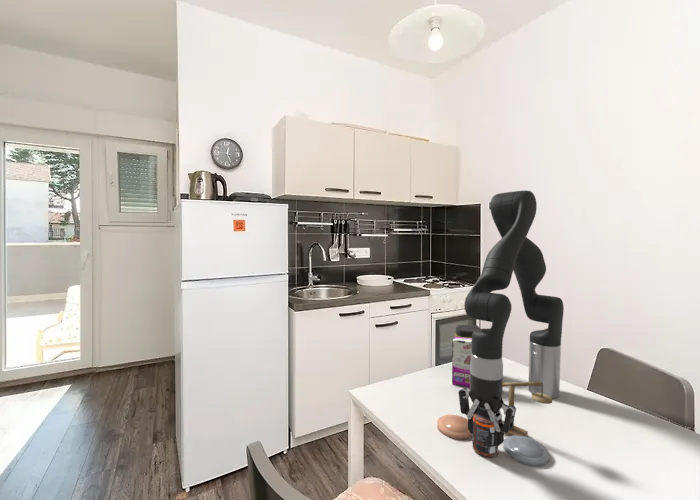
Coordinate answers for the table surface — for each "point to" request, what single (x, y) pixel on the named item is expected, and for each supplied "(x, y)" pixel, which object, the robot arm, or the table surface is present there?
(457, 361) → the candy bar box
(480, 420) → the supplement bottle
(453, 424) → the terracotta dish
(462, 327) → the coffee jar
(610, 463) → the table surface
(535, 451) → the slate dish
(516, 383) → the balance
